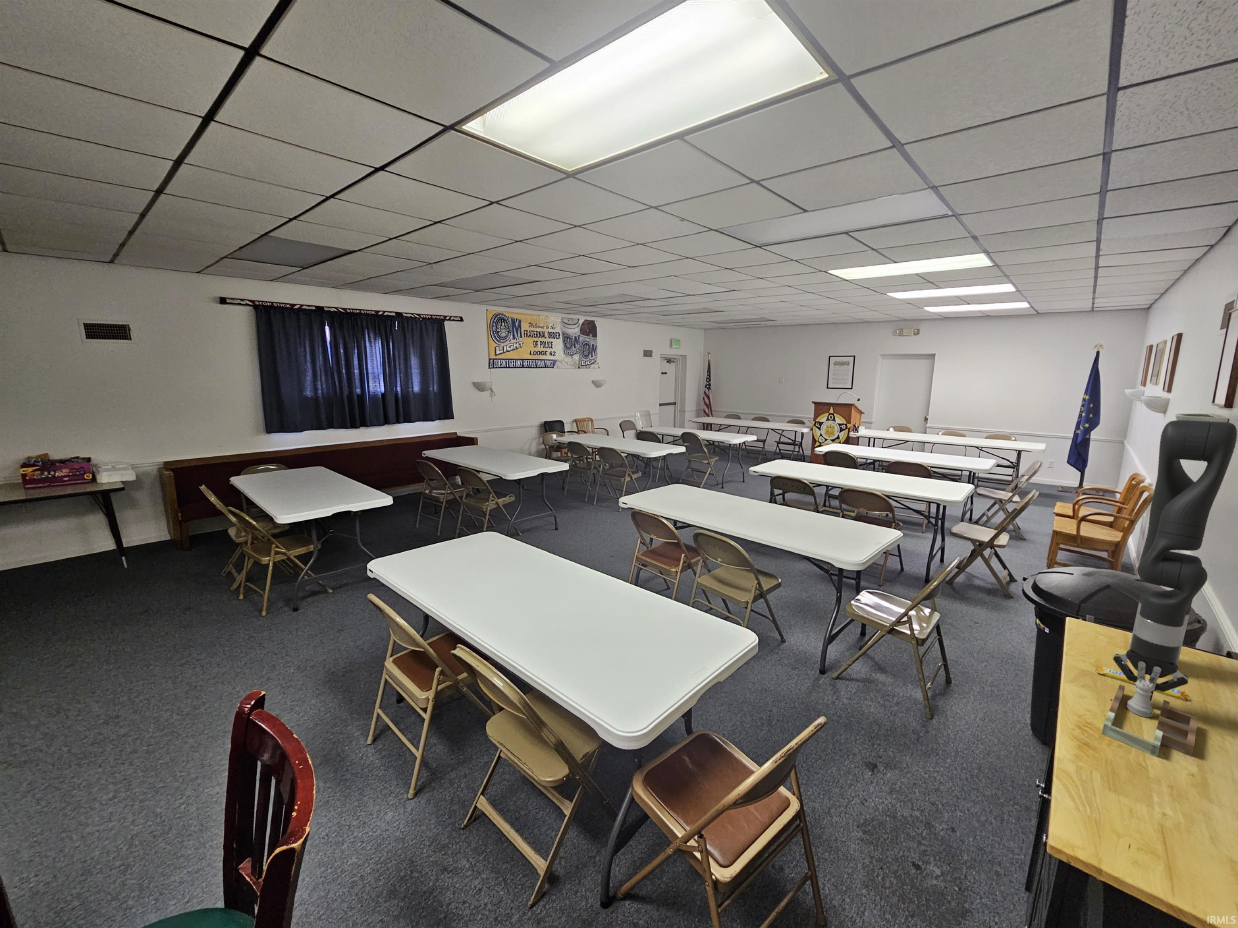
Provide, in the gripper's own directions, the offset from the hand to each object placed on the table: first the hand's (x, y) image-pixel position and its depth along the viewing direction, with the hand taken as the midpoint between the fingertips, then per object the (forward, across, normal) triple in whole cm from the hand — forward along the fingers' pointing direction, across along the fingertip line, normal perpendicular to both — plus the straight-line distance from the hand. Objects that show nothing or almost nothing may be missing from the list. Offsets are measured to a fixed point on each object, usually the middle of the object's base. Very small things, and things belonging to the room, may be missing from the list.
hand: (1142, 699), depth 118 cm
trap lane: (+1, -2, +10) cm, 11 cm away
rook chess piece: (+1, 0, +5) cm, 5 cm away
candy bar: (+2, +1, -11) cm, 11 cm away
